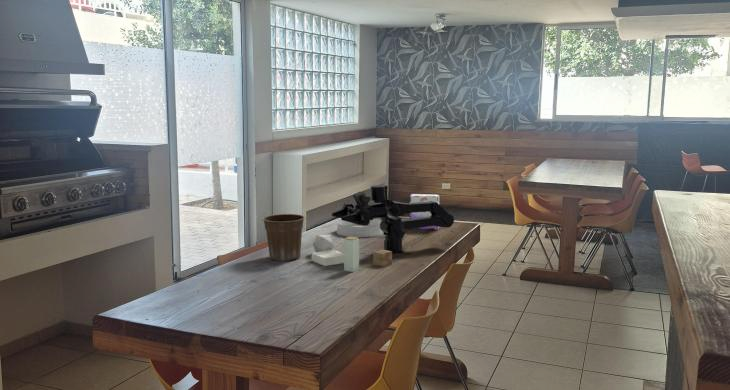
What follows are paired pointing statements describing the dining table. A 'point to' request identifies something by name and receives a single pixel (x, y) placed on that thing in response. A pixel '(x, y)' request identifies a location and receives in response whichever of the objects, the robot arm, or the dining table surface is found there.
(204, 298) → the dining table surface
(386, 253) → the walnut cube
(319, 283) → the dining table surface
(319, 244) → the die
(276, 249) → the plant pot
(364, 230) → the dish
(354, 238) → the tea tin
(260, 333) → the dining table surface
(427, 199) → the candy box
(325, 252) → the slab
